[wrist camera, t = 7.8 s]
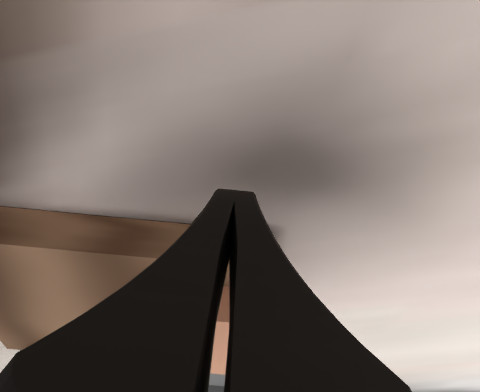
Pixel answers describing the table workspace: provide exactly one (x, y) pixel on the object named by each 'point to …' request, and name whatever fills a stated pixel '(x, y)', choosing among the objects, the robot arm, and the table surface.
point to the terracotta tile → (221, 335)
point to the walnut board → (68, 266)
